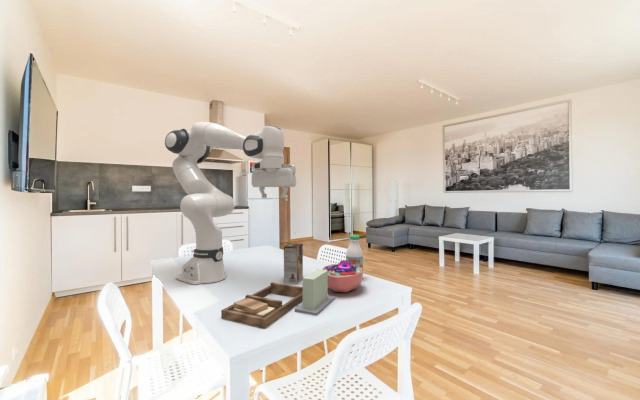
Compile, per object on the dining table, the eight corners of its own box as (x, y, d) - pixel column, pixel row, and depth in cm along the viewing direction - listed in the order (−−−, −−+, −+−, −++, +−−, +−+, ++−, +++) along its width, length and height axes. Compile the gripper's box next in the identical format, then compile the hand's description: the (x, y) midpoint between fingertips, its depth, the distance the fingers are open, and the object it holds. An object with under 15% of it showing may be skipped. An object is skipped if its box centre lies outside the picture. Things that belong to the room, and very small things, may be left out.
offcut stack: (229, 317, 90) (229, 303, 90) (245, 309, 96) (245, 296, 96) (261, 326, 84) (261, 311, 84) (276, 317, 90) (276, 303, 90)
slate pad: (294, 311, 94) (294, 309, 94) (315, 295, 108) (315, 293, 108) (316, 315, 90) (316, 313, 90) (334, 298, 105) (334, 296, 105)
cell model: (312, 293, 111) (312, 264, 110) (333, 280, 128) (334, 255, 128) (353, 301, 103) (353, 270, 102) (370, 285, 120) (370, 259, 120)
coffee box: (289, 277, 132) (289, 243, 132) (303, 278, 131) (303, 243, 131) (283, 283, 123) (283, 246, 123) (297, 284, 122) (297, 247, 122)
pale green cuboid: (302, 307, 95) (302, 278, 95) (317, 296, 106) (317, 269, 106) (313, 309, 93) (313, 279, 93) (327, 297, 104) (327, 270, 104)
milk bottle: (344, 276, 134) (344, 234, 133) (360, 276, 134) (361, 234, 134) (347, 281, 126) (347, 236, 125) (364, 281, 127) (364, 236, 126)
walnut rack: (221, 318, 88) (221, 305, 88) (269, 291, 112) (269, 281, 112) (264, 328, 82) (264, 314, 82) (306, 298, 106) (306, 287, 105)
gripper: (298, 164, 117) (298, 198, 118) (258, 166, 126) (258, 197, 126) (291, 163, 112) (291, 198, 112) (249, 165, 120) (249, 197, 120)
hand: (273, 198), depth 119 cm, fingers open, 8 cm apart
